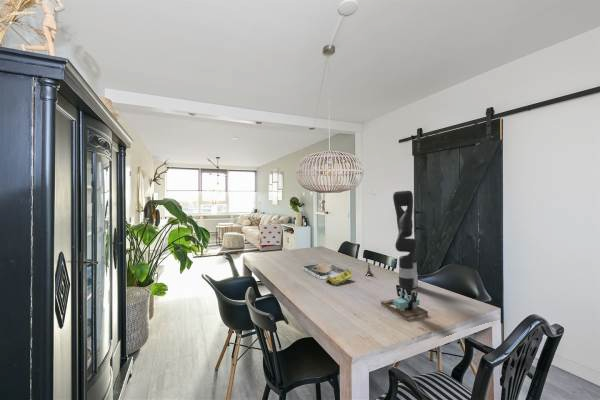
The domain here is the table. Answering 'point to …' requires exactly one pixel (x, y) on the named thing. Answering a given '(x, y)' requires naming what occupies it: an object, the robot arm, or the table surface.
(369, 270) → the eiffel tower figurine
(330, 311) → the table surface
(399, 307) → the panel
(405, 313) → the slot board
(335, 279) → the plastic component
